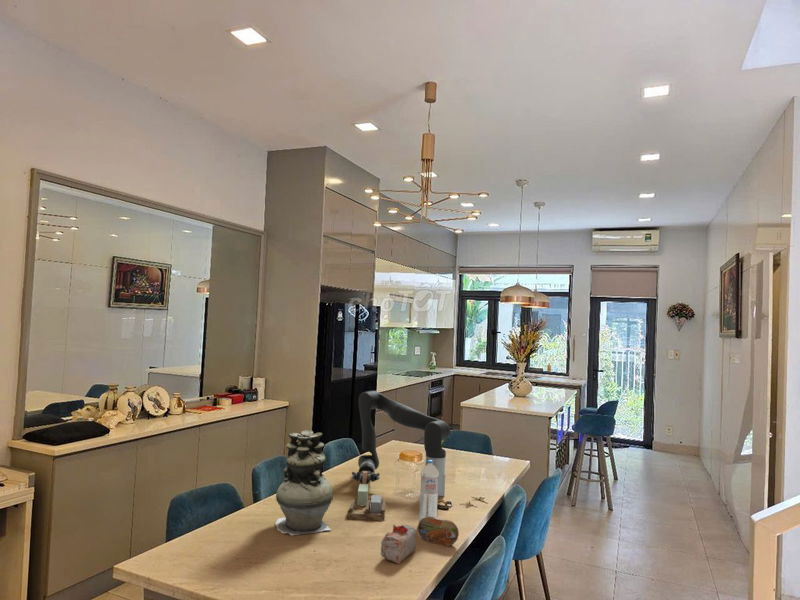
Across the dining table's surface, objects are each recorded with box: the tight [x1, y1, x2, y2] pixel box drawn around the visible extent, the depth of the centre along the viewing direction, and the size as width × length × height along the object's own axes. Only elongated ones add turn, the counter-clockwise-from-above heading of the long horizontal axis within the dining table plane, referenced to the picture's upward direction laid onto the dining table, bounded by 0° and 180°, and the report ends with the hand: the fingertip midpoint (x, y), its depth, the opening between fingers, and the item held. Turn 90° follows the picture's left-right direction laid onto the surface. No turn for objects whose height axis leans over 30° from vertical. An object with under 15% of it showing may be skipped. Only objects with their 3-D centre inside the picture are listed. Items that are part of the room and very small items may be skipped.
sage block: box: [356, 471, 370, 507], centre depth 233 cm, size 4×16×10 cm, turn 0°
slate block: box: [369, 494, 382, 514], centre depth 216 cm, size 4×9×6 cm, turn 0°
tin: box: [417, 516, 460, 547], centre depth 190 cm, size 15×3×8 cm, turn 62°
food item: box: [380, 524, 417, 565], centre depth 177 cm, size 14×8×10 cm, turn 154°
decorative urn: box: [274, 429, 334, 536], centre depth 200 cm, size 21×21×35 cm
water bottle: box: [418, 460, 439, 523], centre depth 206 cm, size 7×7×25 cm
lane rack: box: [348, 498, 386, 521], centre depth 215 cm, size 14×12×4 cm
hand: (364, 481), depth 237 cm, fingers closed on sage block, 2 cm apart
